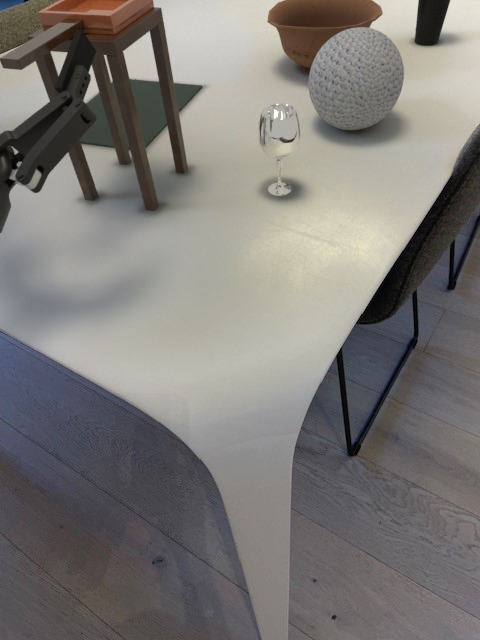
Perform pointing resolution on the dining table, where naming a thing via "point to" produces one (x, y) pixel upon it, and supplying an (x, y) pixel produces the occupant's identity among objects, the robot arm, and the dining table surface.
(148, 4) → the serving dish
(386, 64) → the decorative ball
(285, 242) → the dining table surface
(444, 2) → the drinking cup
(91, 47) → the robot arm
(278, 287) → the dining table surface
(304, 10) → the bowl
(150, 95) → the place mat
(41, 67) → the stand
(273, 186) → the wineglass
